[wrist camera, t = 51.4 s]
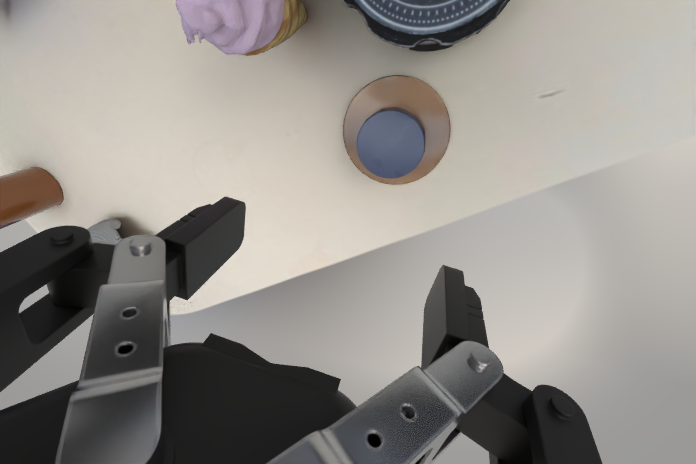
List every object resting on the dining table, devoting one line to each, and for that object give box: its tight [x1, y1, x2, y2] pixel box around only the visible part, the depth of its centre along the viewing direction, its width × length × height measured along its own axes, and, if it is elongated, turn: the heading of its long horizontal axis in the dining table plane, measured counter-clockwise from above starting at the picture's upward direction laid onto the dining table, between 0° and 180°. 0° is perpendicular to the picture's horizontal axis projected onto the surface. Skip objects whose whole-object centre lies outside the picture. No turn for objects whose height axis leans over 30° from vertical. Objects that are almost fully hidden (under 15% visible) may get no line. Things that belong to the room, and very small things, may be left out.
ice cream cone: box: [176, 0, 307, 56], centre depth 23 cm, size 7×6×15 cm
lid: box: [357, 107, 425, 179], centre depth 31 cm, size 6×6×2 cm
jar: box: [0, 167, 63, 229], centre depth 42 cm, size 6×6×10 cm
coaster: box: [343, 75, 450, 184], centre depth 32 cm, size 10×10×1 cm
